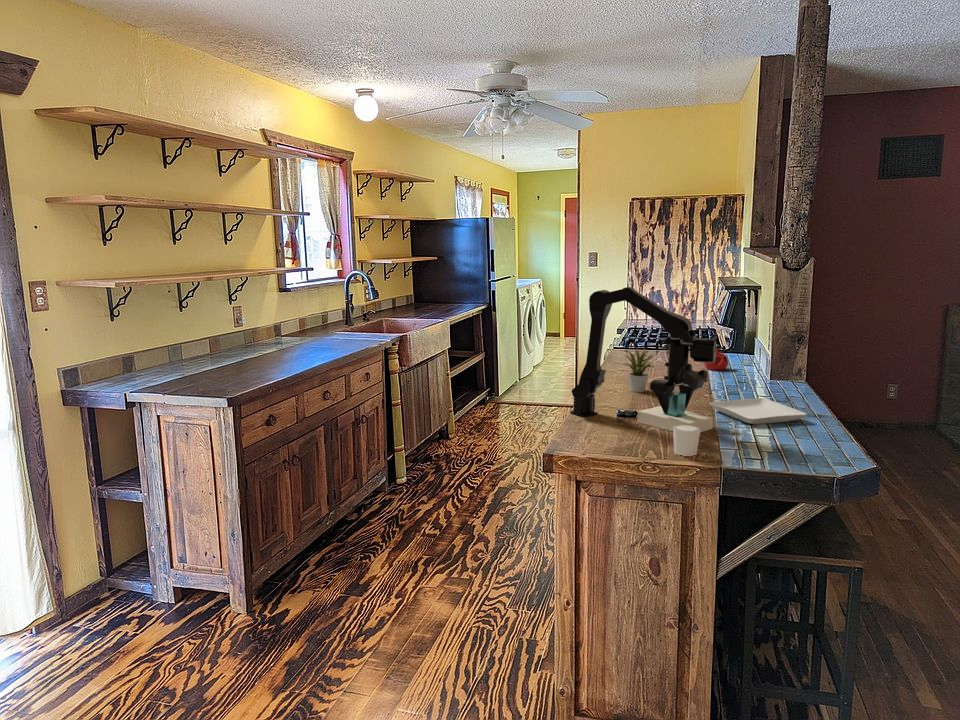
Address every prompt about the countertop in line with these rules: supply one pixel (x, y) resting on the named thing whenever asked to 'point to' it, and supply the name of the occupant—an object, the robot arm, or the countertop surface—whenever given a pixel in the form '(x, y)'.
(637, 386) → the house plant
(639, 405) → the countertop surface
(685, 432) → the white tapered cup
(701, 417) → the beige square hole board
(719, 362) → the pomegranate
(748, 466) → the countertop surface
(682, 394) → the teal rectangular block
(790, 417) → the salad plate
